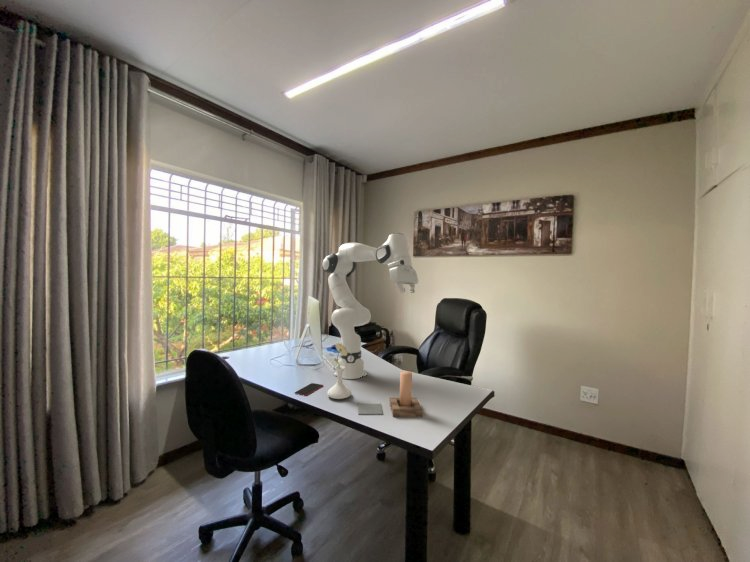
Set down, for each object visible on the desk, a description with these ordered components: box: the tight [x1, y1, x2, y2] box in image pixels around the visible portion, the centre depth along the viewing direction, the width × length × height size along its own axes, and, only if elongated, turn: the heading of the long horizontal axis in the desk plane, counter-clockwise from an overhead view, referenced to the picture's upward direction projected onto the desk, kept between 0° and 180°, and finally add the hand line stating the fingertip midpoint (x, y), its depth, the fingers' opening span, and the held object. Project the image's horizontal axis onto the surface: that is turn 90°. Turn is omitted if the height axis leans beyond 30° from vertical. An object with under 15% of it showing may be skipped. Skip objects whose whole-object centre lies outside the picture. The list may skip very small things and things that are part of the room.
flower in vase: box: [326, 341, 352, 400], centre depth 142 cm, size 13×11×25 cm
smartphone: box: [294, 382, 324, 397], centre depth 149 cm, size 7×1×15 cm
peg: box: [399, 370, 413, 407], centre depth 128 cm, size 5×5×16 cm
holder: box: [389, 397, 423, 418], centre depth 128 cm, size 12×12×3 cm
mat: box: [357, 403, 384, 416], centre depth 128 cm, size 10×10×1 cm
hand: (408, 292), depth 143 cm, fingers open, 8 cm apart
